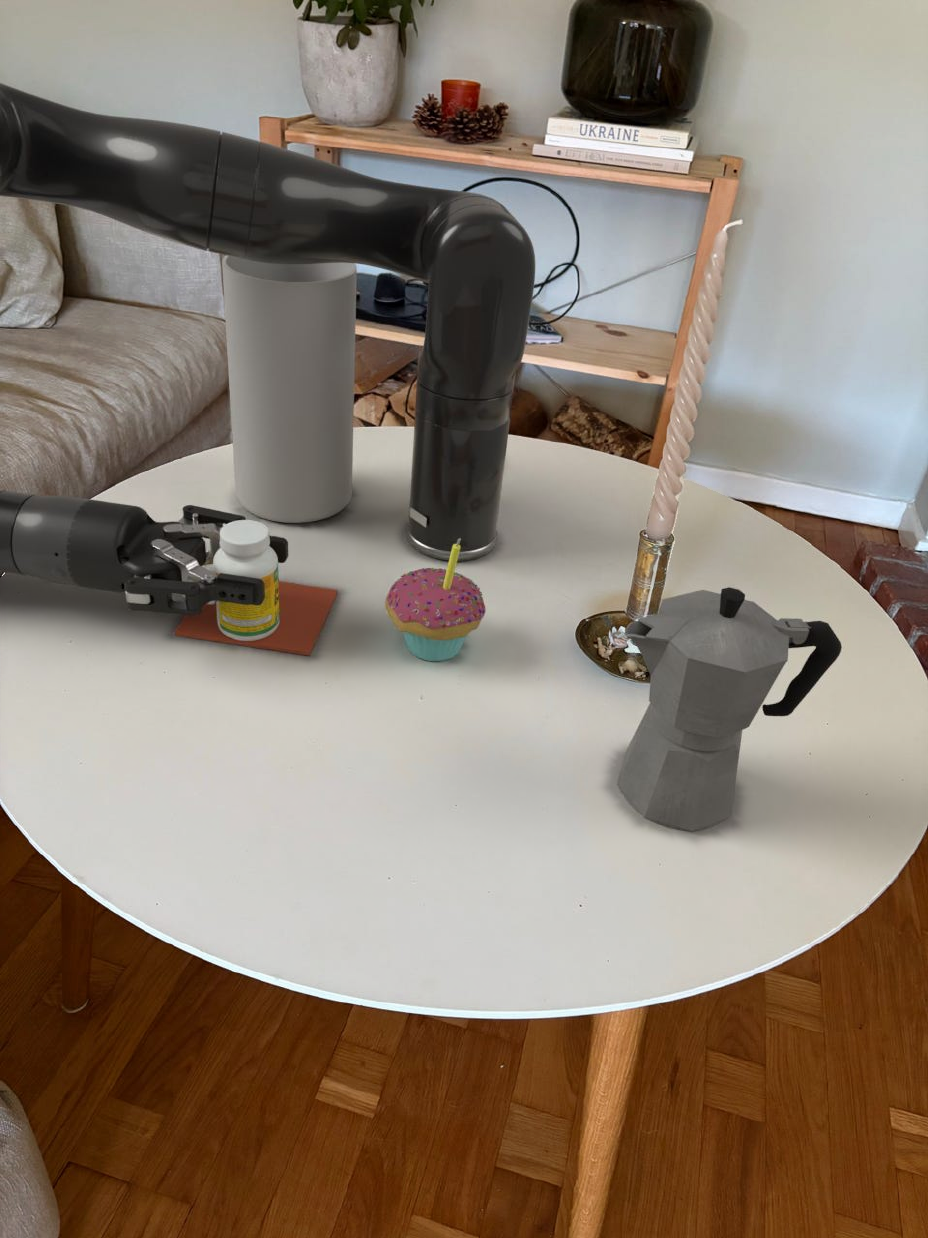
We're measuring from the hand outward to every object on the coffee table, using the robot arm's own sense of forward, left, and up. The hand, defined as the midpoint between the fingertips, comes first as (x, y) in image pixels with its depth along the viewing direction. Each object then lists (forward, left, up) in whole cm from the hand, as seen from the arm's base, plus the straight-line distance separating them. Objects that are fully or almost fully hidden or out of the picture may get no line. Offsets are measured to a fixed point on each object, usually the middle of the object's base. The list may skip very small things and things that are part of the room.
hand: (275, 571), depth 81 cm
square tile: (-3, -2, -6) cm, 7 cm away
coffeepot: (+11, +36, -7) cm, 38 cm away
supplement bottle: (0, -2, -6) cm, 7 cm away
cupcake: (-2, +14, -7) cm, 15 cm away
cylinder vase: (-25, -5, -7) cm, 26 cm away
